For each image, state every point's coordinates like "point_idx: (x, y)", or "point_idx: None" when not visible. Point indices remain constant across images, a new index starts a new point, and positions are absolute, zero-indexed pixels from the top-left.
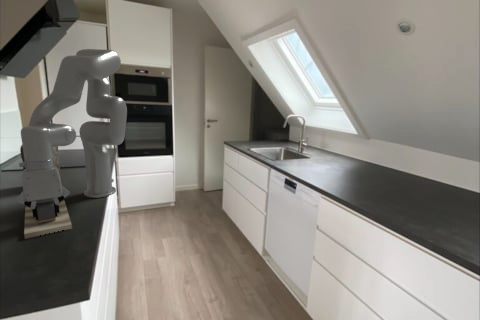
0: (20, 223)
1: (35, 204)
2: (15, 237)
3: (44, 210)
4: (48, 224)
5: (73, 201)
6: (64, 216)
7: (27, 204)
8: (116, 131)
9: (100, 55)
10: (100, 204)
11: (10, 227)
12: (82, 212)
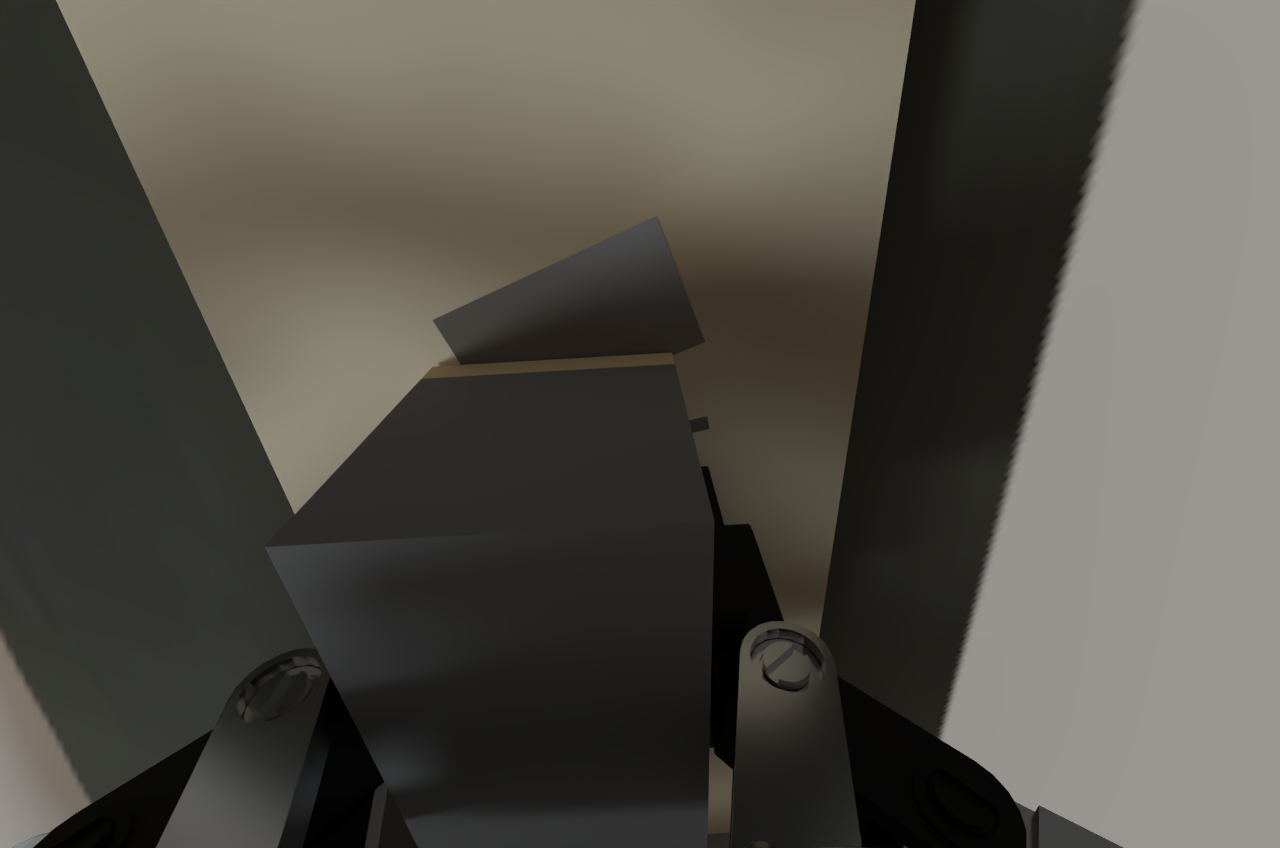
0: (850, 550)
1: (743, 730)
2: (972, 133)
3: (545, 473)
4: (522, 214)
5: (391, 817)
6: (328, 443)
7: (921, 768)
8: None
9: None
10: (49, 690)
11: (951, 494)
12: (200, 566)
